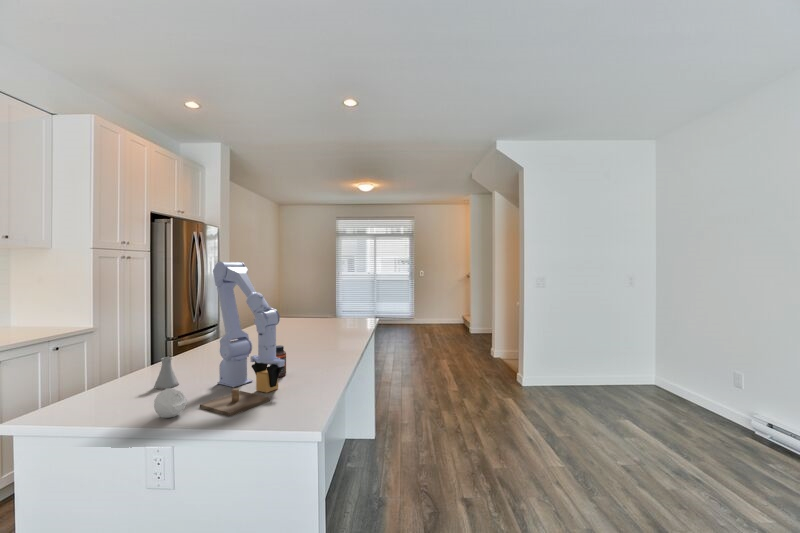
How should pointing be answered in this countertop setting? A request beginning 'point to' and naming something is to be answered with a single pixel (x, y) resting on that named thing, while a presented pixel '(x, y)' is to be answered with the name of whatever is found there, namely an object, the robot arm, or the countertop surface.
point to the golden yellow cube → (264, 382)
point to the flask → (166, 375)
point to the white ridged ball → (169, 403)
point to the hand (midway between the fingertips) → (267, 385)
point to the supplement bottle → (282, 355)
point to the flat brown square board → (234, 402)
